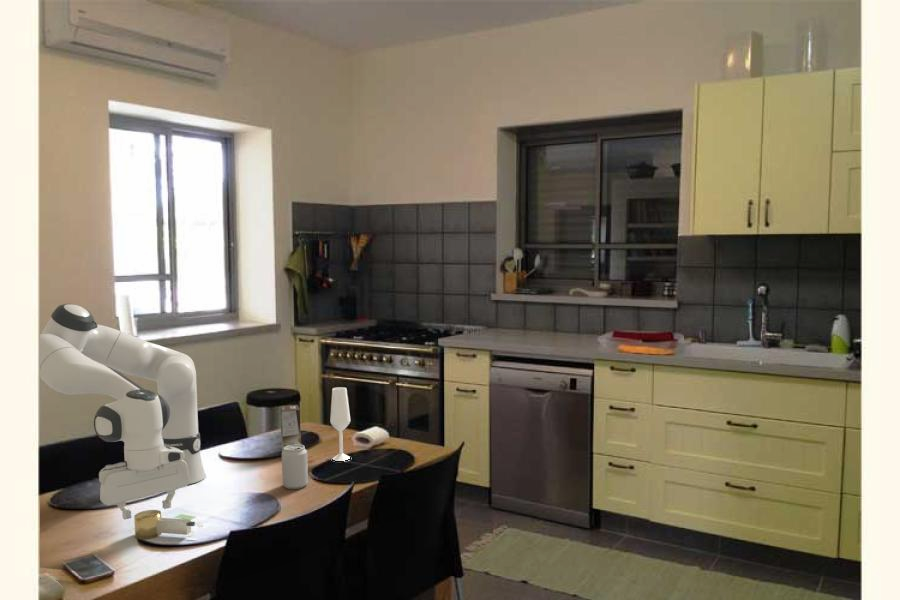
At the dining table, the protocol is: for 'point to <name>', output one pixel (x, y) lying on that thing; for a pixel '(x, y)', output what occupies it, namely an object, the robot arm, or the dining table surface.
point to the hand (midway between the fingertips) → (147, 513)
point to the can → (294, 466)
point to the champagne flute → (340, 417)
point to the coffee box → (290, 425)
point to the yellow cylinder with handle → (159, 525)
